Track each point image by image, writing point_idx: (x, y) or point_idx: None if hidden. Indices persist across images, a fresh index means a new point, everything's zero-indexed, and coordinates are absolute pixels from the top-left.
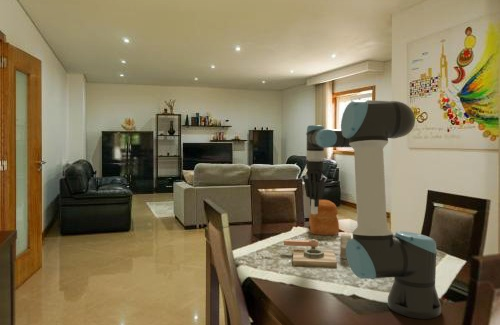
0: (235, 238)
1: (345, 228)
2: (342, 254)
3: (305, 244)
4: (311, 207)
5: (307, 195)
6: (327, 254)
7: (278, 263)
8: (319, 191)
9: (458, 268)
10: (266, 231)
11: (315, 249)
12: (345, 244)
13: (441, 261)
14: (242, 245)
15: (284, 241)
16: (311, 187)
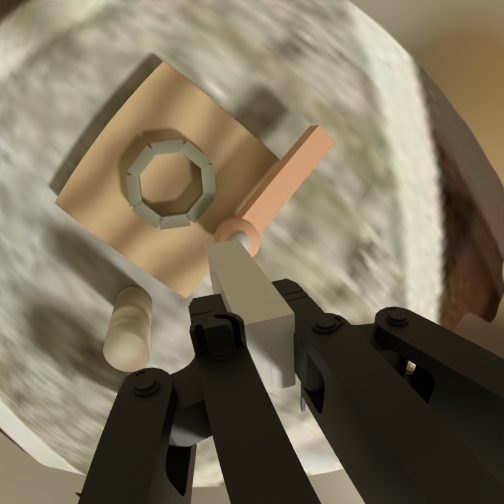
0: (473, 136)
1: None
2: (127, 293)
3: (250, 200)
4: (250, 264)
5: (394, 317)
6: (147, 238)
7: (212, 36)
8: (110, 490)
9: (4, 429)
10: (468, 257)
11: (192, 212)
12: (112, 319)
13: (44, 444)
14: (428, 95)
15: (316, 127)
16: (418, 479)
